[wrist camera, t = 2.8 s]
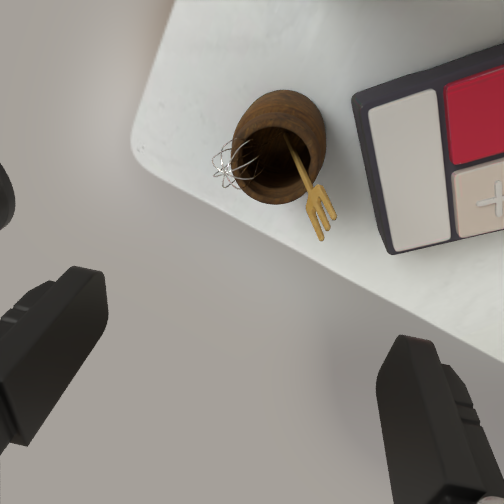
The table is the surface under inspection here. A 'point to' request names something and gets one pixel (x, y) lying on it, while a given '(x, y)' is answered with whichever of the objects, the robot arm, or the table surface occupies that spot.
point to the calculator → (436, 152)
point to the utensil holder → (281, 153)
